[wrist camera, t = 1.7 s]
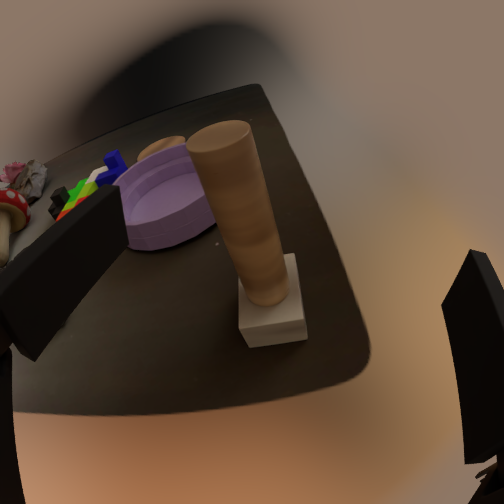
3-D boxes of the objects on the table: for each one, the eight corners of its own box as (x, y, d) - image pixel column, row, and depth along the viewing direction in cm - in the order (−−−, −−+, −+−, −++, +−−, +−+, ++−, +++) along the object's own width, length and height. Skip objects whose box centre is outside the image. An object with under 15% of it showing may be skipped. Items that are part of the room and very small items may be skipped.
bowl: (240, 158, 43) (231, 129, 40) (239, 239, 32) (226, 203, 28) (136, 185, 45) (123, 161, 42) (103, 266, 34) (83, 239, 31)
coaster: (189, 132, 54) (188, 131, 54) (181, 156, 48) (180, 154, 48) (145, 146, 56) (144, 144, 55) (132, 171, 49) (131, 169, 49)
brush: (247, 285, 27) (183, 122, 17) (299, 276, 27) (259, 103, 16) (249, 348, 23) (162, 179, 13) (308, 339, 23) (266, 153, 12)
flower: (35, 186, 72) (37, 152, 67) (34, 202, 66) (35, 165, 61) (-1, 187, 65) (-1, 153, 60) (-6, 204, 59) (-7, 167, 54)
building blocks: (72, 189, 52) (61, 171, 49) (128, 169, 50) (118, 148, 47) (39, 246, 42) (24, 226, 39) (100, 228, 40) (84, 204, 37)
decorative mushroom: (-31, 243, 33) (-13, 168, 39) (-32, 275, 38) (-19, 205, 45) (30, 256, 41) (40, 182, 47) (20, 284, 47) (27, 216, 53)
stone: (41, 155, 52) (5, 187, 48) (59, 182, 57) (25, 214, 53) (34, 154, 59) (3, 182, 55) (49, 177, 64) (19, 205, 60)
